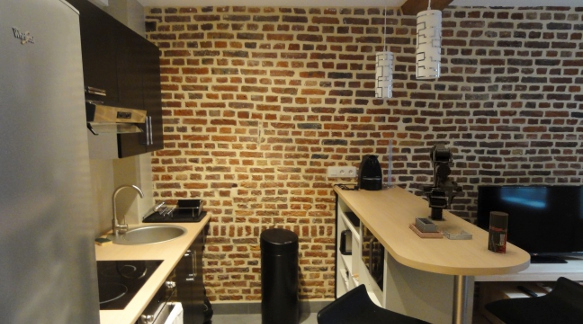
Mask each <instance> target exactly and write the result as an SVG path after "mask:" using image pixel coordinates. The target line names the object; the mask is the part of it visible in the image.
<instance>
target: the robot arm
mask: <svg viewBox="0 0 583 324" xmlns="http://www.w3.org/2000/svg"><path fill="white" fill-rule="evenodd" d="M445 146H446V145H445V143H442V142H441V143H440V142H438V143H436V142H435V143H434V144H433V146H432V147H431V148H429V152H428V153H429V154H428V155H429V157H428V158H429V159H430V163H431V164H432V166H433V184H432V185H430V184H425V183H424V184H423V183H422V184H420V185H419V186H418V190H419V191H421V192H422V193H424V195H425V197H426V200H427V201H428V204H427V206H428V208H430V215H428V216H427V218H428V219H429V218H430V220H431V221H446V218H444V217H443V215H444V213H443V212H444V211H443V210H446V209H448V206H451V205H452V204H453V201H454V199H455V197H456V196H458V195H459V194H461V193H463V192H464V188H463V186H462V185H460V184H458V181H451V180H450V177H449V176H450V175H451V172H452V169H451V167H450V166H449V164H453V162H454V154H453V151H452V150H451V149H450V148H446V147H445ZM446 193H448V195H447V197H446Z"/></svg>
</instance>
